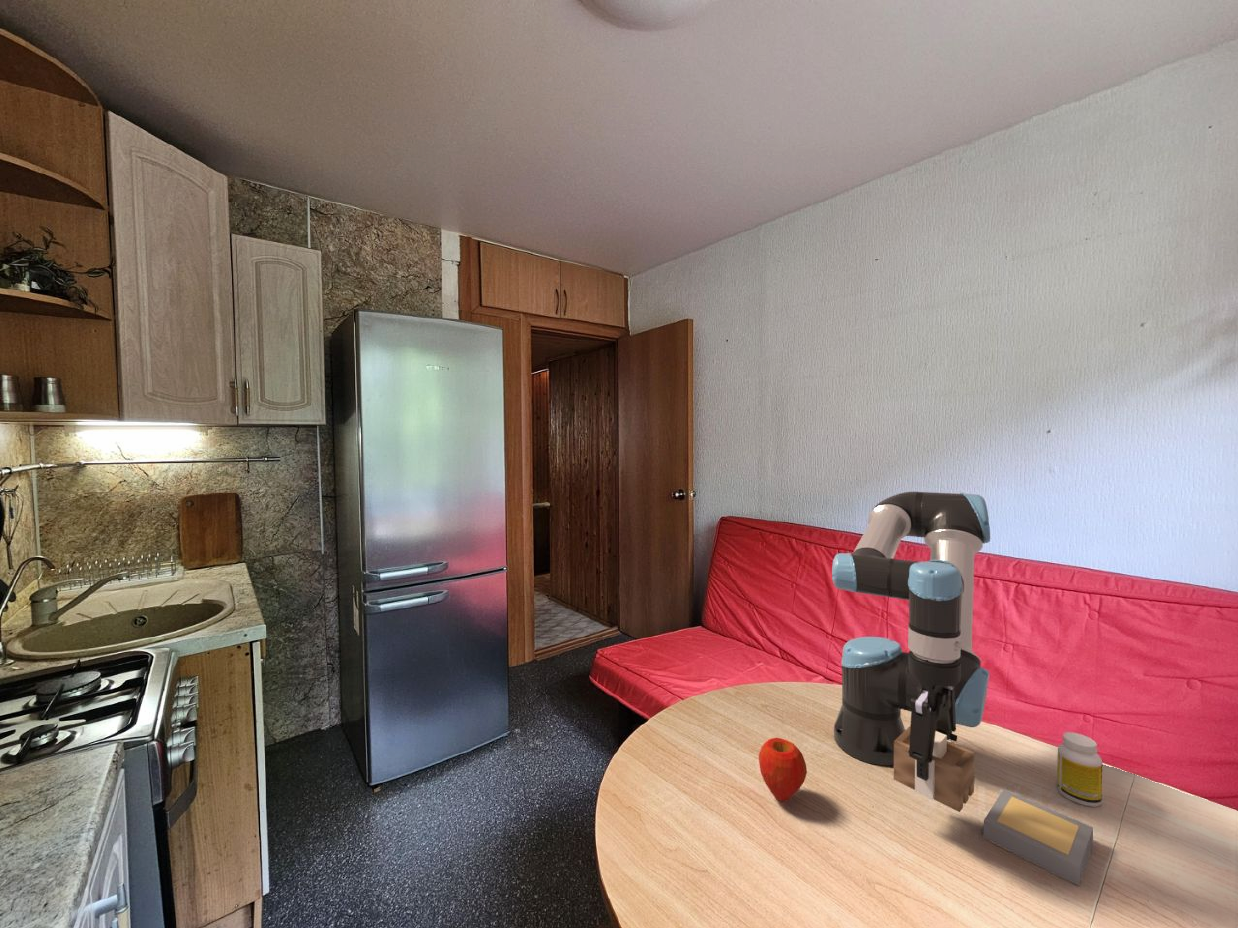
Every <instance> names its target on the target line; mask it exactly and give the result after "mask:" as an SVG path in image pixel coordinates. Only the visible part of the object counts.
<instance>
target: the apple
mask: <svg viewBox="0 0 1238 928" xmlns="http://www.w3.org/2000/svg"><path fill="white" fill-rule="evenodd" d="M758 764H759V769H760V773H761V774H760V775H761V776H762V779H763V781H764V783H765V785H766V786H767V788H768V790H769V791H770V793H771V794H772V796H773V798H775V799H777V800H778V801H779V802H787V801H789V800H791V799H792V798H793V796H794V795H796V793H797V792H798V791H799V790H800V789H801V787H802V785H804V783H805V780H806V777H807V773H808V771H807V769H808V768H807V764H806V760H805V757H804V755H803V753H802V752H801V750H800V748H798V747H797V746H796V745H795V743H793V742H792V741H789V740H787V739H784V738H781V737H774V738H773V737H772V738H770V739H768V740H767V741H766V742H764V743H763V745H762V746H761V749H760V751H759V753H758Z"/></svg>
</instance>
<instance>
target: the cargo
mask: <svg viewBox="0 0 1238 928" xmlns="http://www.w3.org/2000/svg"><path fill="white" fill-rule="evenodd" d="M946 752H947V735H945V734H942V733H940V732H937V731H936V733H935V740H934V748H933V756H935V757H938V758H940V759H941V758H942V757H943V756H944V755H945V753H946Z"/></svg>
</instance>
